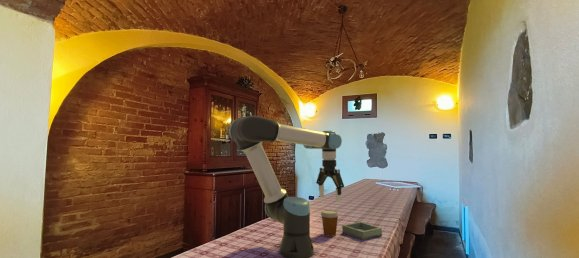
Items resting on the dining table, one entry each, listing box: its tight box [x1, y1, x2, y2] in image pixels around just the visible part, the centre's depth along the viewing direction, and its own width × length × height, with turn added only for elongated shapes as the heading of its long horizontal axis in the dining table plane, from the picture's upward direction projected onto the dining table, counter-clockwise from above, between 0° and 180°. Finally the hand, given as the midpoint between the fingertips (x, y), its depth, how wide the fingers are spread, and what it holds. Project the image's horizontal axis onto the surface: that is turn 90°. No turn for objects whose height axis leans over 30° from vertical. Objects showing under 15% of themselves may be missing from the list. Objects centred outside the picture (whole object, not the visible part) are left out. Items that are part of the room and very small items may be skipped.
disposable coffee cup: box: [320, 209, 340, 237], centre depth 156 cm, size 10×10×12 cm
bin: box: [341, 221, 383, 241], centre depth 157 cm, size 14×15×4 cm
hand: (329, 199), depth 157 cm, fingers open, 13 cm apart
